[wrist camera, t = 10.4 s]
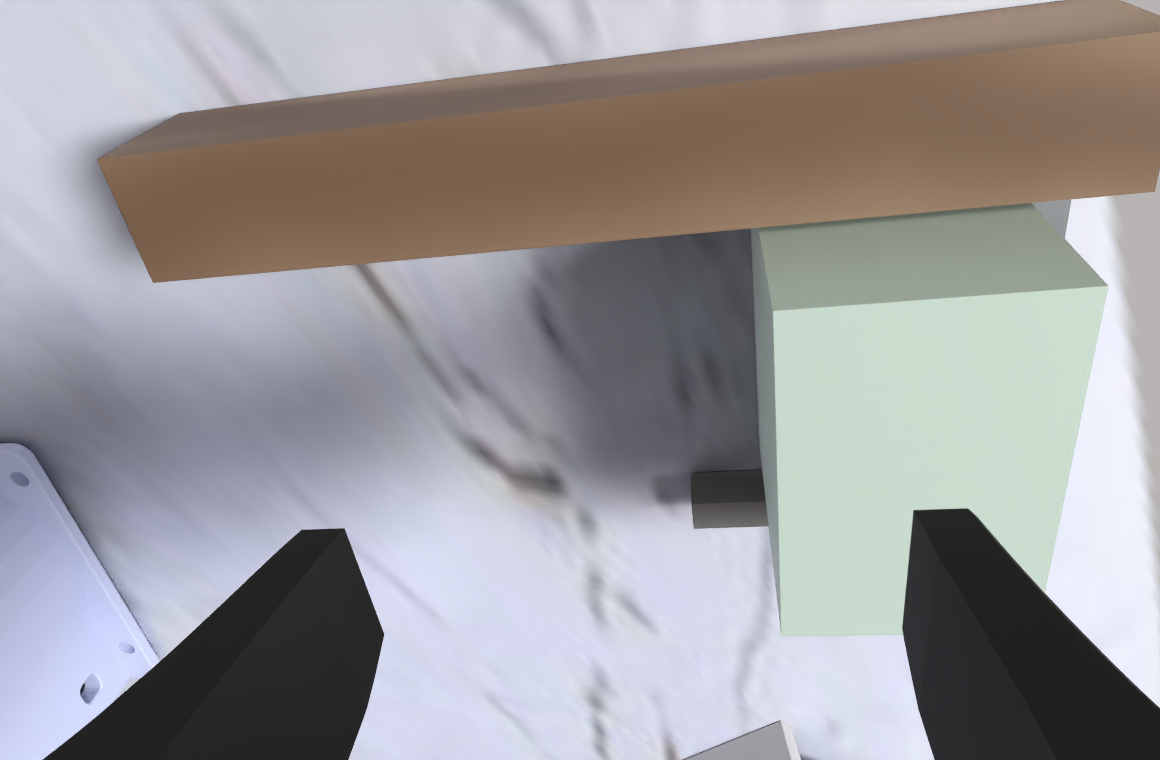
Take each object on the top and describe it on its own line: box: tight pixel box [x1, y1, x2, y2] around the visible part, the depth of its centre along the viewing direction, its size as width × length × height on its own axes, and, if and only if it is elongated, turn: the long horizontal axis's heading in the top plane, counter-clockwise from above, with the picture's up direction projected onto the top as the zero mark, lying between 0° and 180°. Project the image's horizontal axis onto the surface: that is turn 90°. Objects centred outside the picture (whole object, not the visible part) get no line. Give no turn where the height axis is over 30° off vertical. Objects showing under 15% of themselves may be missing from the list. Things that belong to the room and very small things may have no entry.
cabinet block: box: [751, 203, 1108, 636], centre depth 16 cm, size 8×4×6 cm, turn 8°
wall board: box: [97, 0, 1160, 529], centre depth 18 cm, size 11×18×3 cm, turn 98°
